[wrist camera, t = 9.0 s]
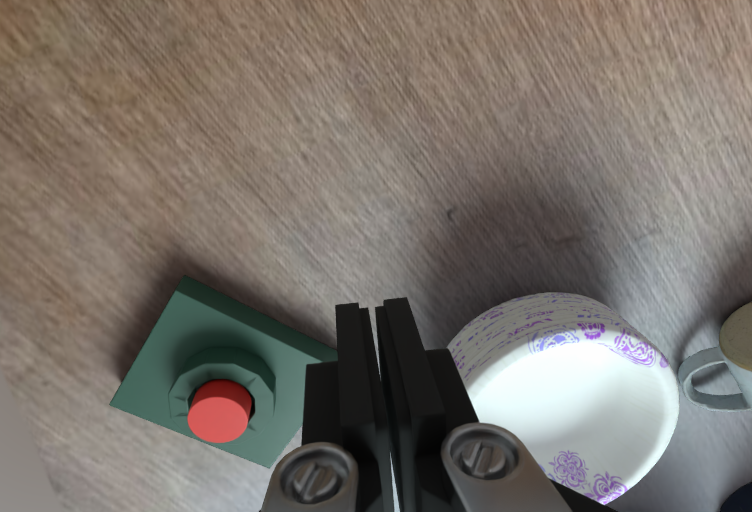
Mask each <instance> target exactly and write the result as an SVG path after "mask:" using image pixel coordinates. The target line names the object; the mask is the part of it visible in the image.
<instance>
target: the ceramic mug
mask: <svg viewBox="0 0 752 512" xmlns="http://www.w3.org/2000/svg"><path fill="white" fill-rule="evenodd" d="M723 362H725V363H726V365H727V366H728V368H729V370H730V372H731V374H732V375H733V376H734V378H735V380H736V382H737V384H738V386H739V388H740V390H741V392H742V393H740V394H734V395H710V394H705V393H701V392H698V391H697V390H695V389H694V387H693V385H692V383H691V379H692V375H693V374H694V373H695V372H697V371H698V370H700V369H703V368H706V367H708V366H711V365H716V364H719V363H723ZM678 379H679V382H680V385H681V388H682V390H683V393H684V395H685V396H686V398H687V399H688V400H689V401H690V402H691V403H693V404H694V405H696V406H698V407H701V408H703V409H707V410H712V411H719V412H741V411H752V302H750V303H748V304H746V305H744V306H742V307H741V308H739V309H738V310H736V311H735V312H733V313H732V314H731V315H730V317H729V318H728V319H727V320H726V321H725V322H724V324H723V326H722V327H721V330H720V334H719V346H718V347H714V348H709V349H705V350H701V351H699V352H698V353H696V354H694V355H692V356H689V357H688V358H687V359H686V360H685V361H684V362H683V363H682V364H681V366H680V368H679V372H678Z"/></svg>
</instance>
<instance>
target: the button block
mask: <svg viewBox="0 0 752 512" xmlns="http://www.w3.org/2000/svg"><path fill="white" fill-rule="evenodd" d="M330 361H338V354H337V351H336V350H334V349H332V348H330V347H328V346H326V345H324V344H322V343H320V342H318V341H316V340H314V339H312V338H310V337H308V336H306V335H304V334H302V333H300V332H298V331H296V330H294V329H292V328H290V327H288V326H286V325H284V324H282V323H280V322H278V321H276V320H274V319H272V318H270V317H268V316H266V315H264V314H262V313H260V312H258V311H256V310H254V309H252V308H250V307H248V306H246V305H244V304H242V303H240V302H238V301H236V300H234V299H232V298H230V297H228V296H226V295H224V294H222V293H220V292H218V291H216V290H214V289H212V288H210V287H208V286H206V285H204V284H202V283H200V282H198V281H196V280H194V279H192V278H190V277H188V276H186V275H184V276H183V278H182V279H181V281H180V283H179V284H178V286H177V288H176V289H175V291H174V293H173V294H172V296H171V298H170V300H169V301H168V303H167V305H166V307H165V308H164V310H163V312H162V313H161V315H160V317H159V319H158V320H157V322H156V324H155V326H154V327H153V329H152V331H151V333H150V334H149V336H148V338H147V340H146V341H145V343H144V345H143V346H142V348H141V350H140V352H139V353H138V355H137V357H136V359H135V360H134V362H133V364H132V366H131V367H130V369H129V371H128V373H127V374H126V376H125V378H124V380H123V381H122V383H121V385H120V386H119V388H118V390H117V392H116V393H115V395H114V397H113V399H112V400H111V402H110V404H109V405H110V406H113V407H115V408H118V409H120V410H123V411H125V412H128V413H130V414H133V415H135V416H138V417H140V418H143V419H146V420H148V421H151V422H153V423H156V424H158V425H161V426H163V427H166V428H168V429H171V430H173V431H176V432H178V433H181V434H183V435H186V436H188V437H191V438H194V439H196V440H199V441H201V442H204V443H206V444H209V445H211V446H214V447H216V448H219V449H221V450H224V451H226V452H229V453H231V454H234V455H237V456H239V457H242V458H244V459H247V460H249V461H252V462H254V463H257V464H259V465H262V466H264V467H267V468H270V467H271V466H272V465H273V463H274V462H275V461H276V459H277V458H278V457H279V455H280V454H281V453H282V451H283V450H284V448H285V447H286V446H287V444H288V443H289V442H290V440H291V439H292V438H293V436H294V435H295V434H296V432H297V431H298V430H299V428H300V427H301V426H302V424H303V409H304V392H305V374H306V365H307V364H313V363H321V362H330ZM217 379H227V380H231V381H234V382H237V383H239V384H240V385H242V386H243V387H244V388H245V389H246V390H247V391H248V393H249V395H250V397H251V409H250V414H249V419H248V424H247V427H246V429H245V431H244V432H243V433H242V434H241V435H240V436H239V437H238V438H236V439H234V440H232V441H229V442H224V443H214V442H208V441H205V440H203V439H201V438H199V437H198V436H196V435H195V434H194V433H193V432H192V430H191V429H190V427H189V425H188V420H187V417H188V413H189V410H190V407H191V404H192V402H193V399H194V396H195V394H196V392H197V390H198V389H199V388H200V387H201V386H202V385H204V384H205V383H207V382H209V381H212V380H217Z"/></svg>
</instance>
